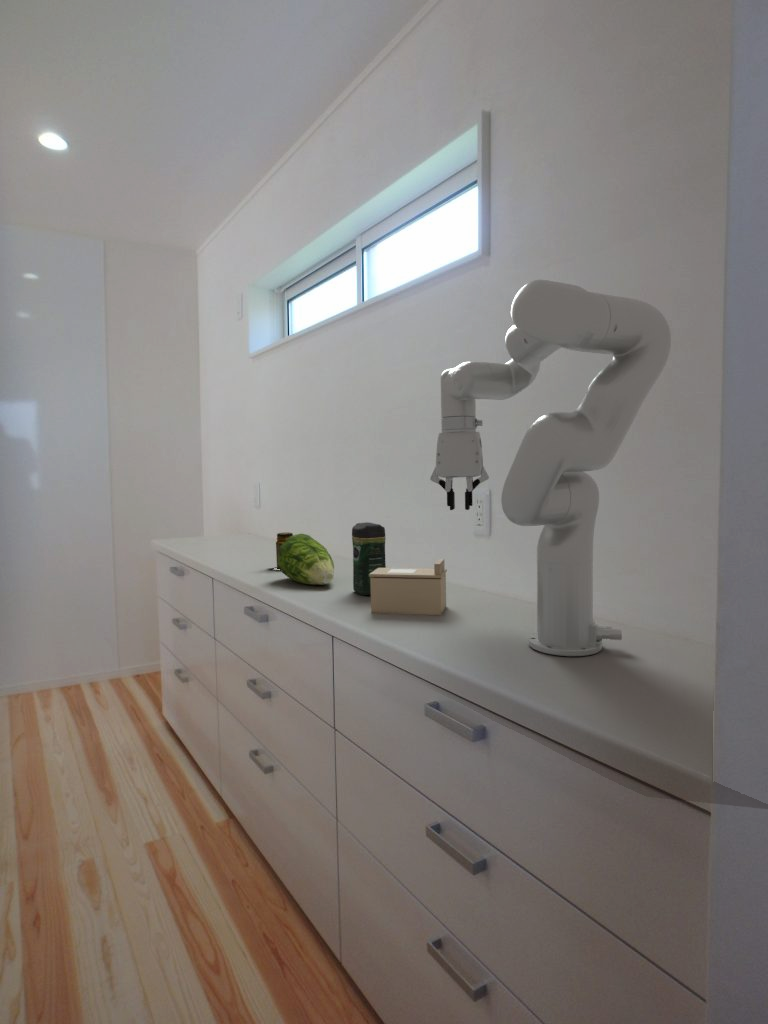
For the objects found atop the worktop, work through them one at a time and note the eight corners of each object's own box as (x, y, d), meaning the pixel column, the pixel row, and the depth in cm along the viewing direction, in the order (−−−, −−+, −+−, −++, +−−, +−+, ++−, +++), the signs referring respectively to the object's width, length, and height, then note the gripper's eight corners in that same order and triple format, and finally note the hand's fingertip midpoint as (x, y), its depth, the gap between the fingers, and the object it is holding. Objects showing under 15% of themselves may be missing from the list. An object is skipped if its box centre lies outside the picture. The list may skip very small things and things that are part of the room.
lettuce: (307, 607, 160) (303, 562, 155) (273, 577, 178) (269, 536, 174) (352, 593, 167) (350, 549, 163) (315, 566, 186) (312, 526, 181)
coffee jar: (391, 594, 152) (389, 523, 151) (362, 597, 149) (360, 524, 148) (376, 587, 161) (375, 520, 160) (349, 590, 158) (347, 522, 157)
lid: (446, 571, 137) (446, 558, 137) (441, 578, 129) (441, 564, 128) (378, 570, 141) (378, 557, 141) (369, 576, 133) (368, 563, 132)
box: (446, 606, 137) (445, 572, 137) (441, 615, 130) (440, 579, 129) (379, 604, 141) (379, 571, 141) (371, 612, 133) (370, 577, 133)
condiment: (300, 568, 197) (299, 532, 196) (279, 572, 191) (277, 535, 190) (287, 566, 202) (286, 531, 201) (266, 569, 196) (265, 533, 195)
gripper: (497, 425, 131) (497, 508, 132) (425, 428, 135) (426, 508, 136) (495, 423, 124) (496, 510, 125) (419, 426, 128) (420, 511, 129)
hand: (459, 508), depth 131 cm, fingers open, 2 cm apart
